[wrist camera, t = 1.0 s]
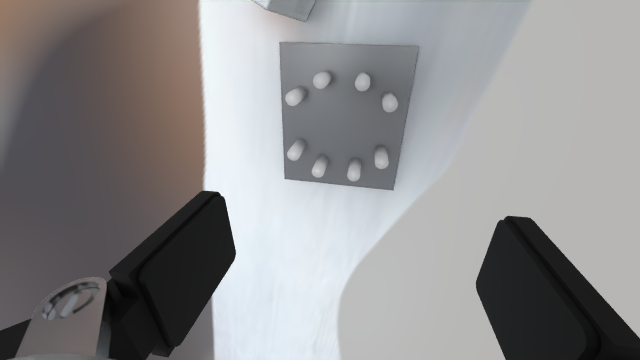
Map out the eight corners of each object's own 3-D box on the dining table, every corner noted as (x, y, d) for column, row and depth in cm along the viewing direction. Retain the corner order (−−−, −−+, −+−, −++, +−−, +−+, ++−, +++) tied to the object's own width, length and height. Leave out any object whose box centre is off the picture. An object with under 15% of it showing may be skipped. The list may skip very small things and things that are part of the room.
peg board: (282, 42, 28) (267, 41, 24) (417, 46, 26) (425, 46, 22) (287, 175, 36) (276, 191, 32) (392, 185, 34) (395, 205, 30)
